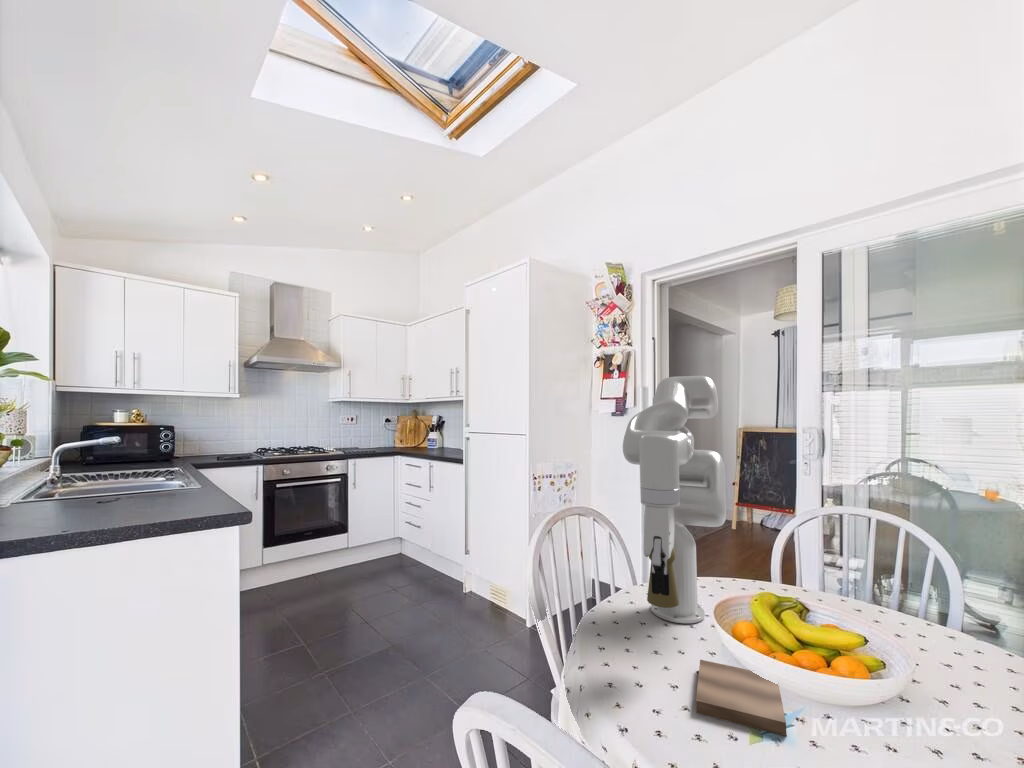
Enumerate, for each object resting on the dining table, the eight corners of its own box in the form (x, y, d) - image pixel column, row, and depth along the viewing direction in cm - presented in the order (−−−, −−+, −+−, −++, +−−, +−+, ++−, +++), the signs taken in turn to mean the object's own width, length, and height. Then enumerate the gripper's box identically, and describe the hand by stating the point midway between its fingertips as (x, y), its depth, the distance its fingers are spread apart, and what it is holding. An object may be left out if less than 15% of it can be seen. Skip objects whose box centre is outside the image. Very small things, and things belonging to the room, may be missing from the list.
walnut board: (700, 670, 89) (700, 659, 89) (777, 687, 83) (776, 675, 83) (696, 713, 76) (695, 700, 76) (786, 736, 70) (786, 722, 71)
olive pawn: (644, 604, 89) (642, 546, 89) (650, 592, 94) (648, 538, 95) (676, 610, 86) (675, 551, 86) (681, 598, 91) (679, 542, 92)
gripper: (647, 487, 100) (649, 572, 99) (633, 503, 85) (635, 603, 84) (683, 490, 97) (685, 577, 96) (675, 506, 82) (678, 610, 81)
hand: (662, 588), depth 90 cm, fingers closed on olive pawn, 4 cm apart
